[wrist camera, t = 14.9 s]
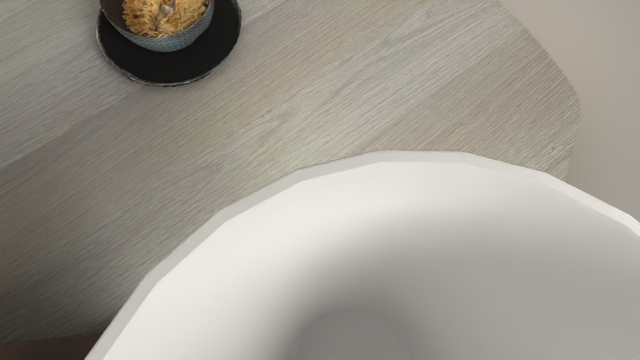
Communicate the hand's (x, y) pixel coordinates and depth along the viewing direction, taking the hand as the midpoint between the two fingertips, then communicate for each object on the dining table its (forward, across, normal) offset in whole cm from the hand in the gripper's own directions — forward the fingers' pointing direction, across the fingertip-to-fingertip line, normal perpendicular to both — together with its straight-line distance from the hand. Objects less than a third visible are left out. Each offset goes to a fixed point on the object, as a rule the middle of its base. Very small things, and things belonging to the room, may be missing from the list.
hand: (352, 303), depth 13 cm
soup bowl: (+36, -13, +7) cm, 39 cm away
